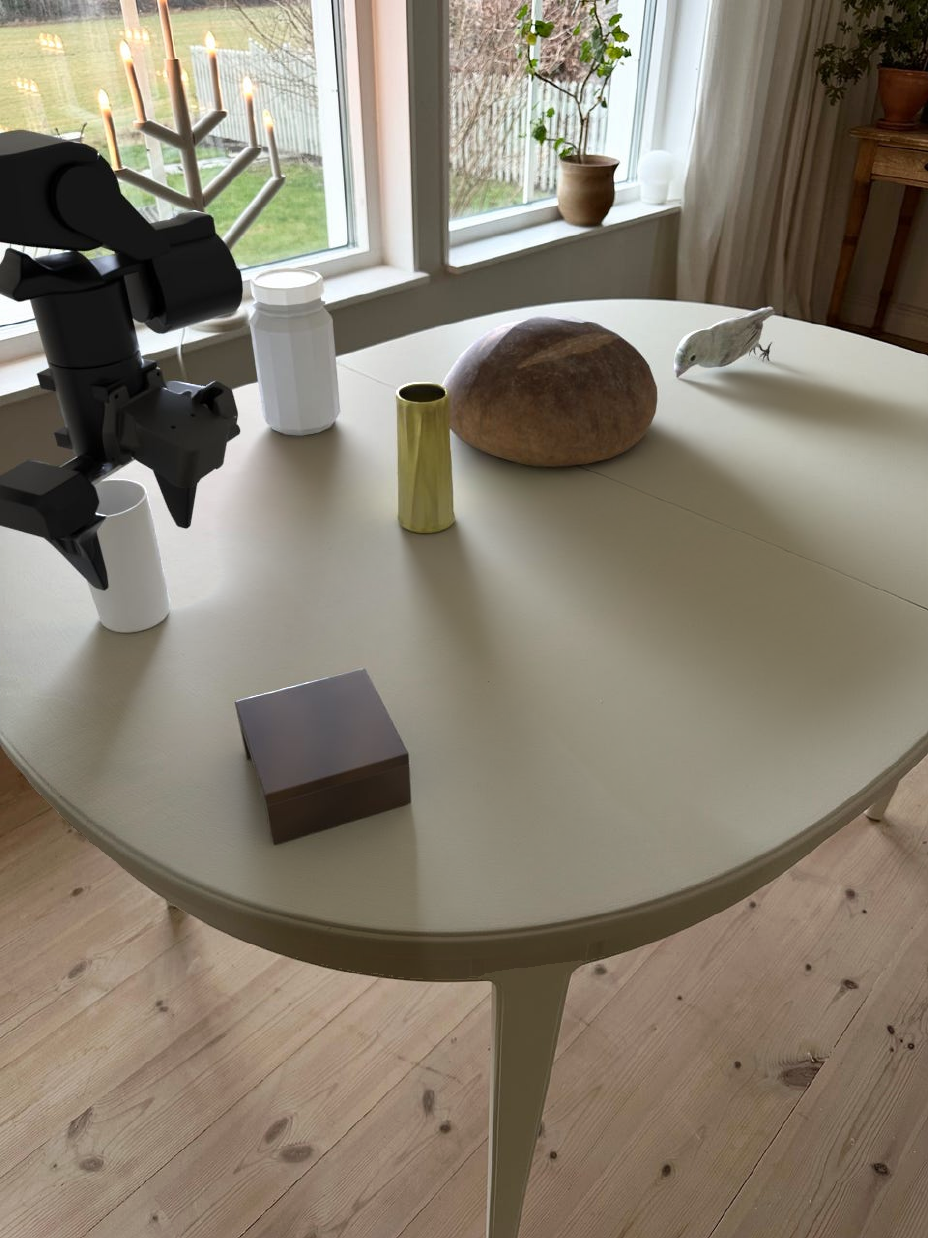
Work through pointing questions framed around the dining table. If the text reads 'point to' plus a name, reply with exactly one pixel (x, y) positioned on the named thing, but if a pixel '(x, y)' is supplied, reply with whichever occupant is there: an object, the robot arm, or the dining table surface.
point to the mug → (129, 560)
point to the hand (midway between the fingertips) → (144, 556)
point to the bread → (551, 393)
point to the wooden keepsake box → (324, 754)
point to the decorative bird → (722, 342)
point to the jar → (294, 351)
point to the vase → (424, 458)
